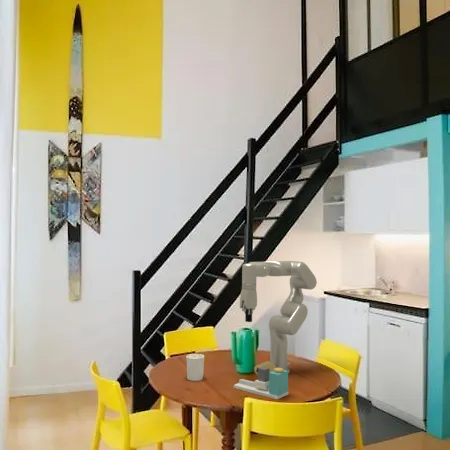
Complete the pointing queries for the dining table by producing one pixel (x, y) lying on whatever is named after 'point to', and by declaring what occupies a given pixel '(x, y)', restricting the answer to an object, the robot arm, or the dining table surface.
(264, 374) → the carriage
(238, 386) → the rail board
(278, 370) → the gauge plunger
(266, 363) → the toy pig
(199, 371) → the candle holder
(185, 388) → the dining table surface
